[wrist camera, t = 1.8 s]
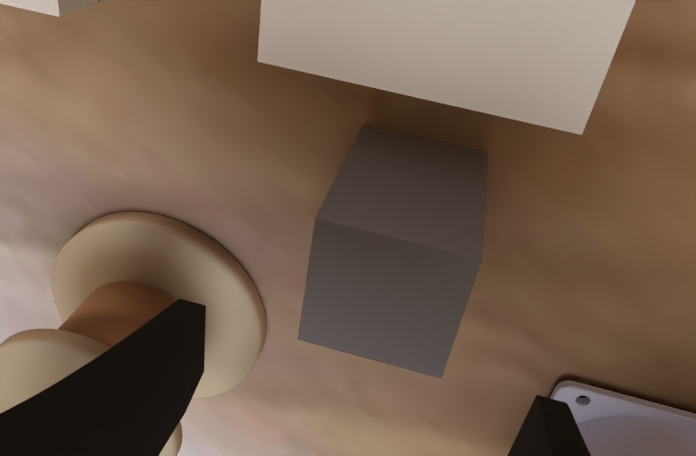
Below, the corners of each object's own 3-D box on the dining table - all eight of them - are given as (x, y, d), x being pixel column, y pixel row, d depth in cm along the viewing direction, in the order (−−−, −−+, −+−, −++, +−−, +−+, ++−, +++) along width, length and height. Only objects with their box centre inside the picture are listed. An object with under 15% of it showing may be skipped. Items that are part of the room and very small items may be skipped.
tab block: (487, 152, 19) (481, 260, 14) (455, 254, 21) (441, 378, 16) (364, 123, 19) (315, 218, 14) (345, 226, 21) (298, 339, 16)
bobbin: (274, 244, 22) (202, 367, 17) (258, 403, 27) (198, 537, 22) (54, 187, 23) (-81, 287, 18) (77, 351, 28) (-24, 468, 23)
